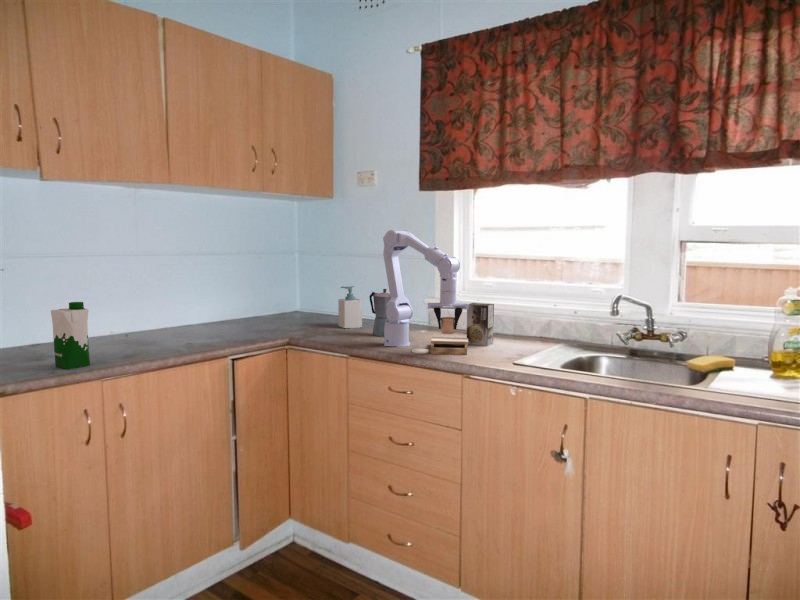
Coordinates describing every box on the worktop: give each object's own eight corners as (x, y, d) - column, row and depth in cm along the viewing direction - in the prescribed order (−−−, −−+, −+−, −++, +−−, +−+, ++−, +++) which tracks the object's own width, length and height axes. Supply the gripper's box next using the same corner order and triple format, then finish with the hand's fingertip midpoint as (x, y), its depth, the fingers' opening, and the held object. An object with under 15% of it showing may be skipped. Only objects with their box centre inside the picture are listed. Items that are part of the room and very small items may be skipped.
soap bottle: (338, 326, 256) (337, 285, 254) (355, 325, 260) (355, 285, 258) (344, 328, 249) (343, 287, 246) (362, 327, 252) (362, 286, 250)
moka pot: (389, 338, 225) (389, 290, 223) (361, 334, 234) (361, 288, 232) (403, 335, 233) (403, 288, 230) (375, 331, 242) (375, 286, 240)
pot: (441, 334, 194) (441, 318, 194) (440, 331, 199) (440, 317, 199) (455, 334, 194) (455, 318, 193) (454, 331, 199) (454, 316, 198)
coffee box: (493, 344, 214) (494, 303, 213) (487, 347, 209) (488, 305, 207) (472, 342, 219) (473, 302, 217) (465, 344, 213) (466, 303, 212)
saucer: (410, 354, 195) (410, 351, 195) (412, 350, 201) (412, 348, 201) (428, 354, 194) (428, 352, 194) (430, 351, 200) (430, 348, 200)
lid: (430, 343, 202) (430, 340, 202) (432, 339, 211) (432, 336, 210) (468, 344, 200) (468, 342, 200) (468, 340, 209) (468, 337, 209)
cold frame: (430, 354, 194) (430, 347, 194) (432, 346, 210) (433, 339, 210) (467, 355, 193) (467, 348, 192) (466, 347, 208) (467, 340, 208)
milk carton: (94, 365, 174) (91, 302, 172) (64, 370, 166) (60, 305, 164) (80, 361, 179) (77, 300, 177) (50, 366, 171) (46, 303, 169)
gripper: (428, 291, 191) (427, 330, 193) (469, 292, 191) (468, 330, 192) (427, 290, 198) (427, 327, 200) (467, 290, 198) (466, 327, 199)
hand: (447, 328), depth 196 cm, fingers closed on pot, 5 cm apart
